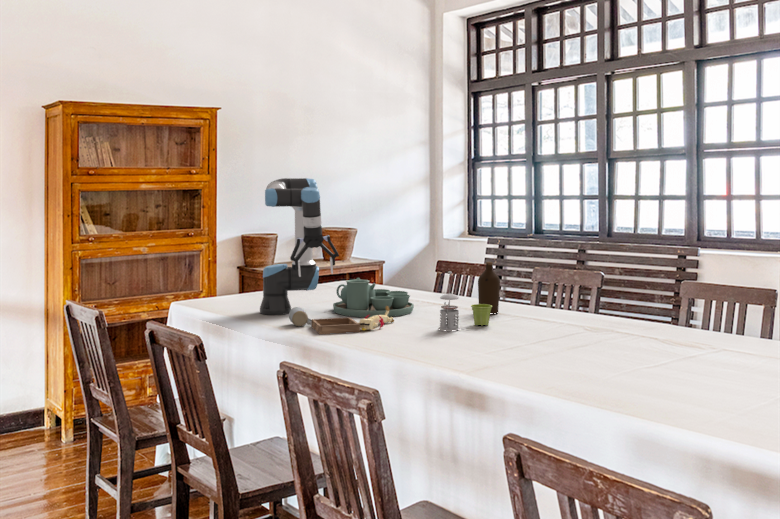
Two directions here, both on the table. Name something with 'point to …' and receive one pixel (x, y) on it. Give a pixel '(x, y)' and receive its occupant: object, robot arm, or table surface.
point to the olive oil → (489, 288)
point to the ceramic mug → (299, 317)
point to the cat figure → (375, 320)
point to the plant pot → (481, 313)
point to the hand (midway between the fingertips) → (315, 274)
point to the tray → (335, 325)
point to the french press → (449, 313)
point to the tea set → (370, 300)
